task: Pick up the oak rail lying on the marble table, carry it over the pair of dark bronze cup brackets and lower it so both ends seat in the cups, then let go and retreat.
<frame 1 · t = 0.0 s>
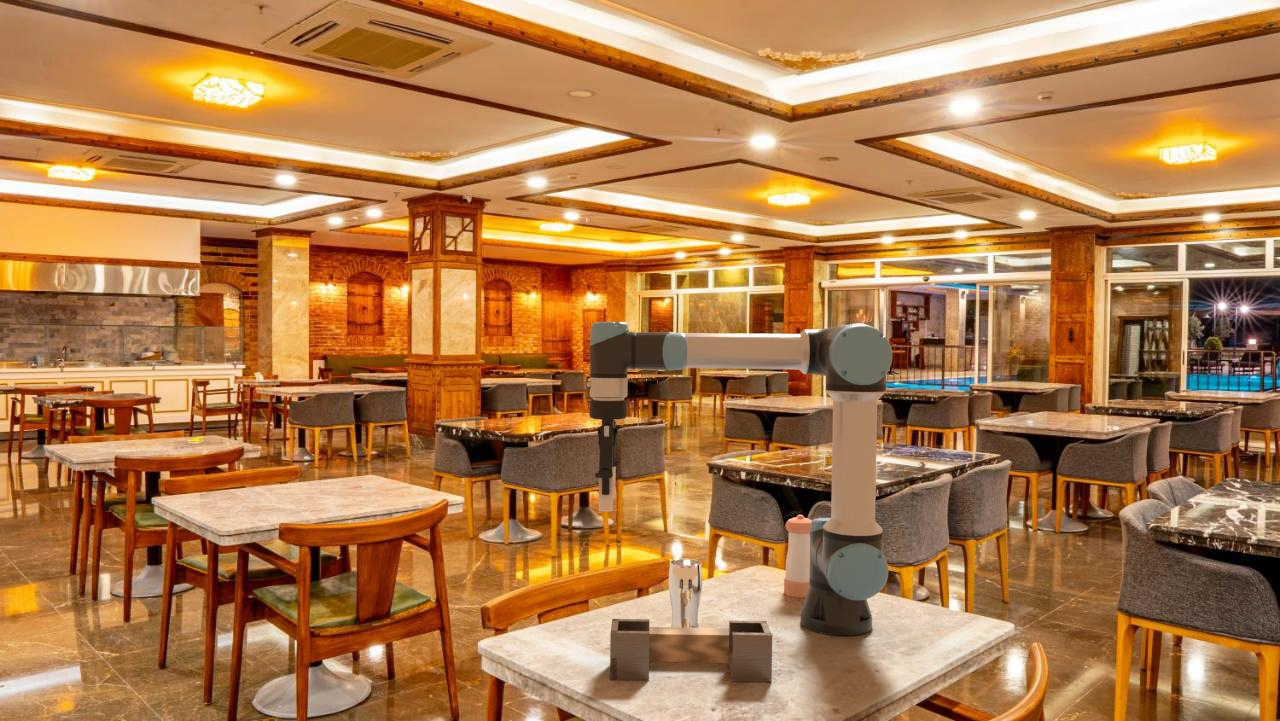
hand: (607, 504, 176), 28 cm above the table, fingers open, 13 cm apart
pepper shaker: (799, 594, 212), on the table
rail: (687, 659, 168), on the table
brackets: (689, 672, 161), on the table
shiny metal tumbler: (684, 634, 182), on the table
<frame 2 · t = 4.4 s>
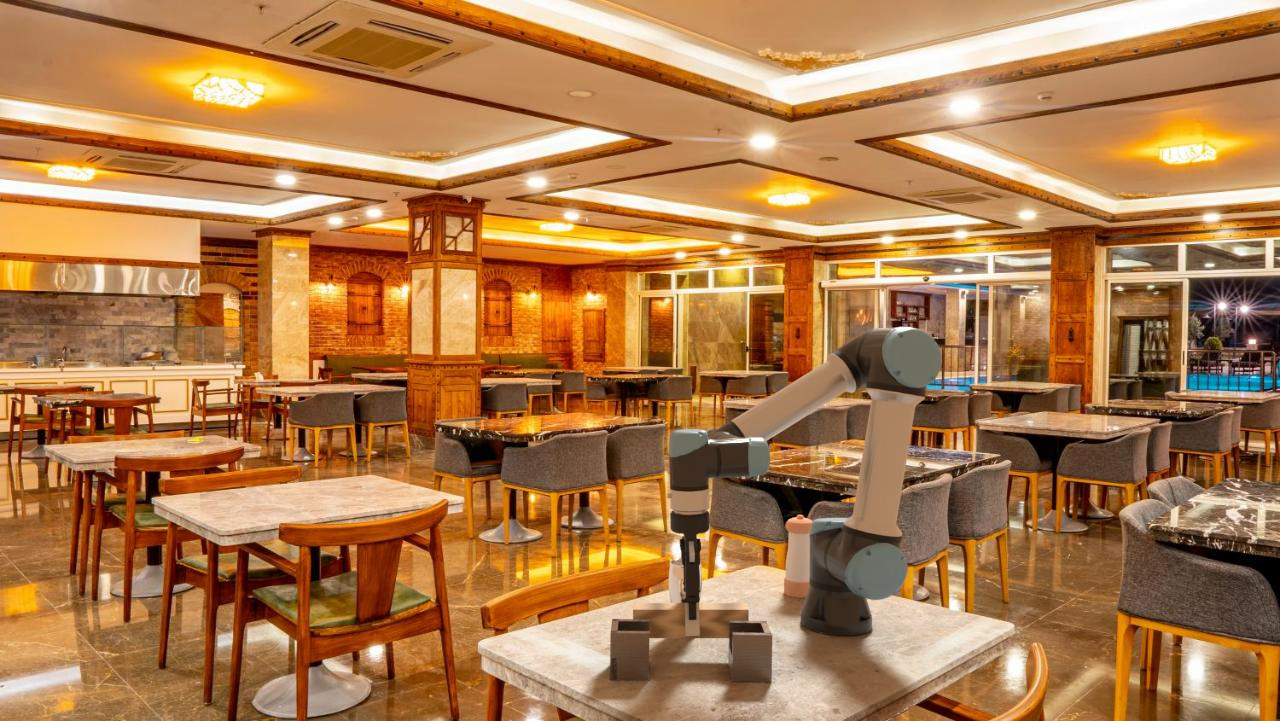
hand: (691, 630, 168), 5 cm above the table, fingers closed on rail, 4 cm apart
rail: (690, 634, 169), point 4 cm above the table, touching gripper
everything else where it was.
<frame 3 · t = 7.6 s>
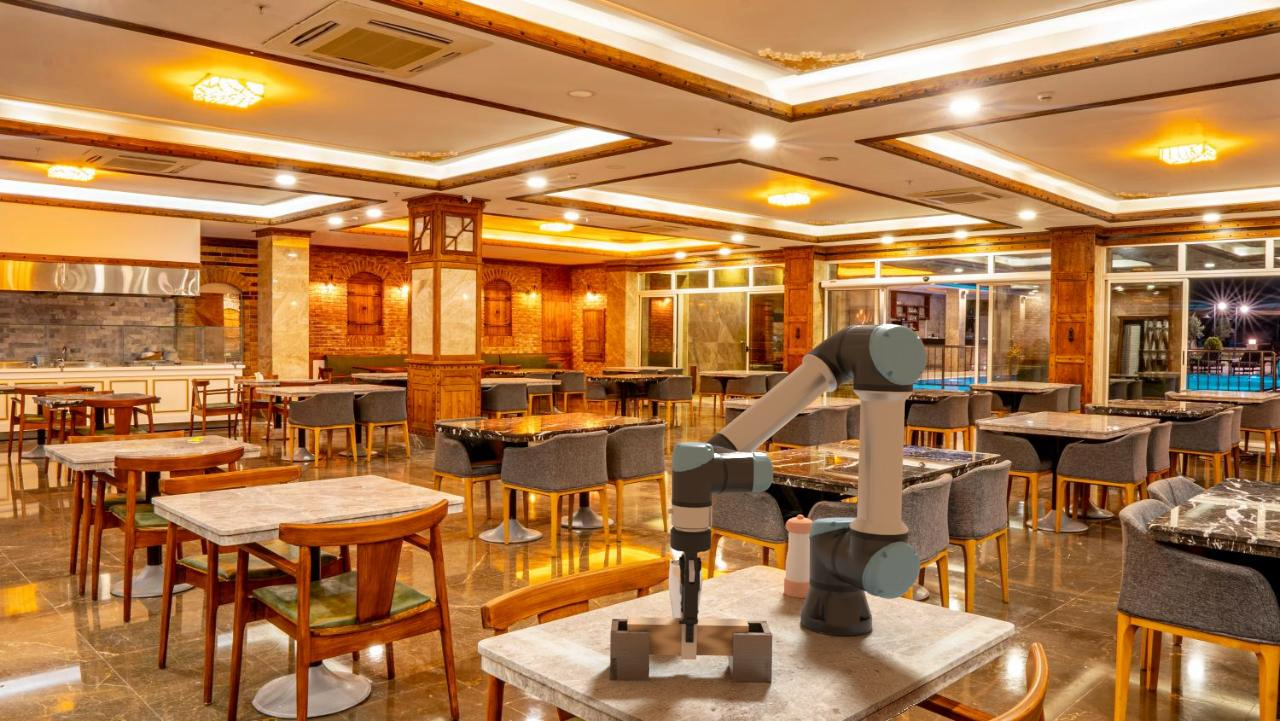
hand: (688, 653, 161), 4 cm above the table, fingers closed on rail, 4 cm apart
rail: (687, 651, 161), point 4 cm above the table, touching brackets, gripper
everything else where it was.
when the fingers open (4 cm above the table, at t = 7.7 s): rail stays where it is, resting on brackets.
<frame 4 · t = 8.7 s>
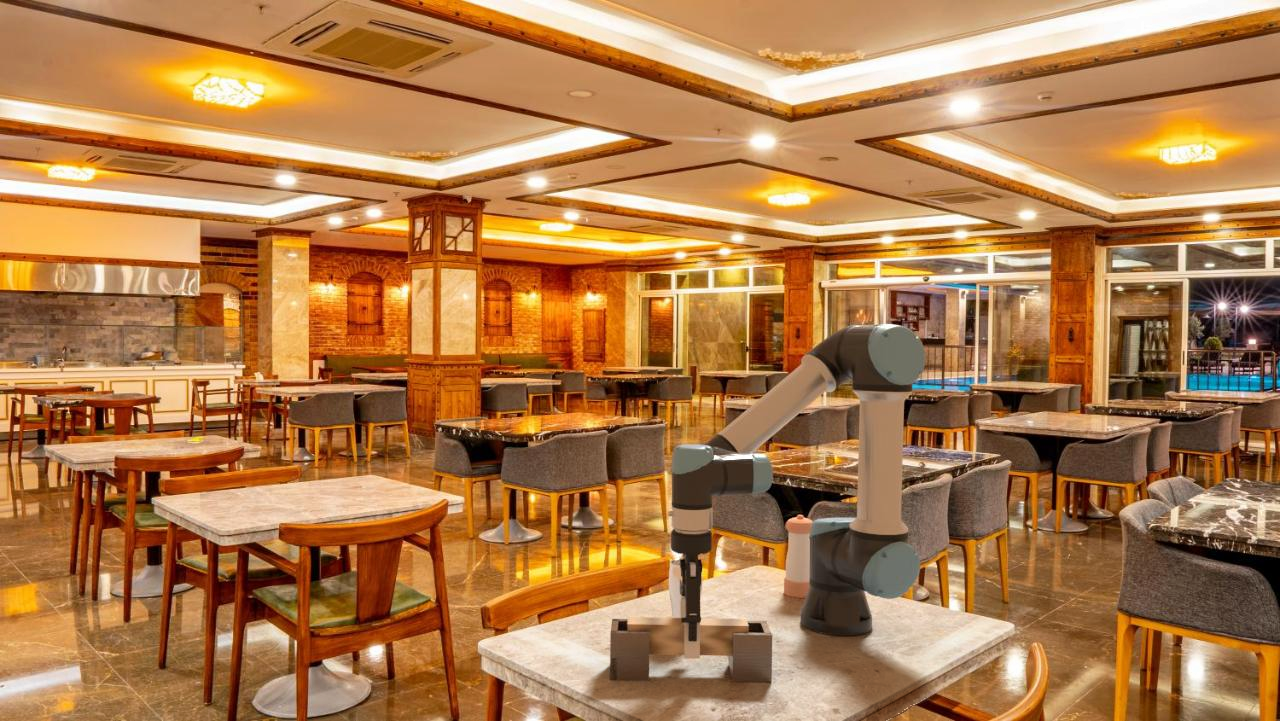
hand: (690, 644, 161), 5 cm above the table, fingers open, 13 cm apart
rail: (687, 651, 161), point 4 cm above the table, touching brackets
everything else where it was.
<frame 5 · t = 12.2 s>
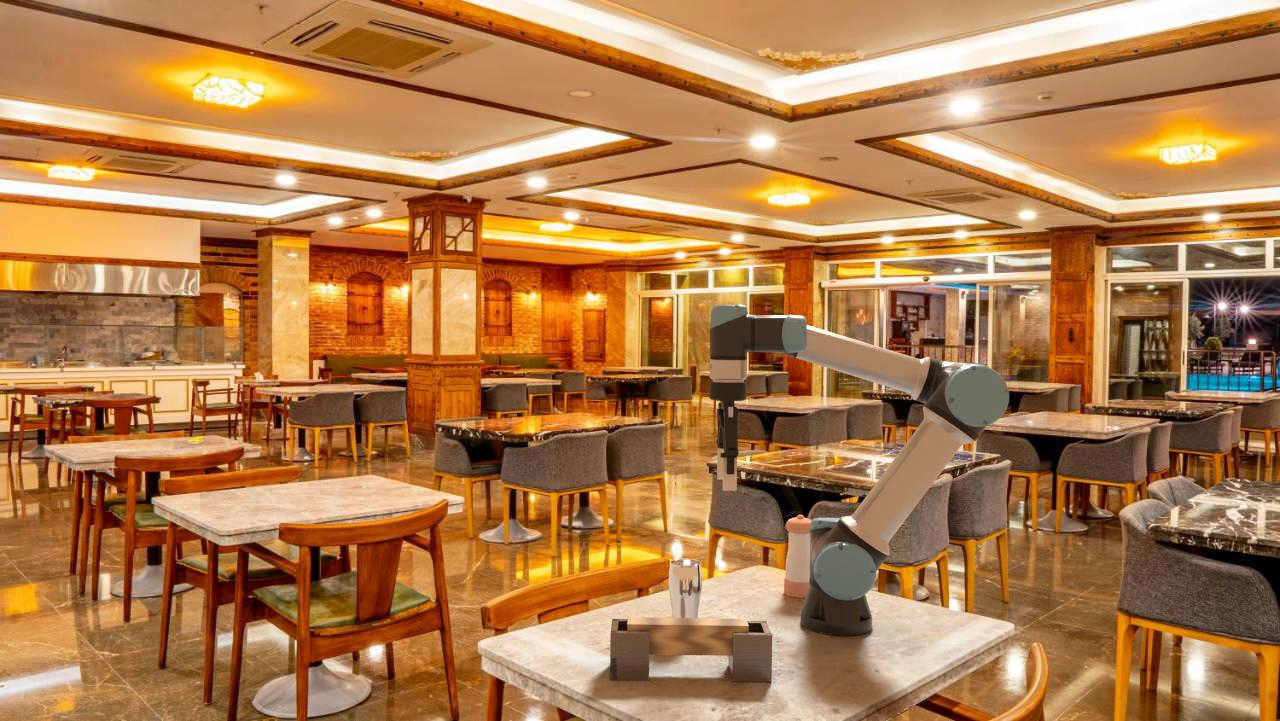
hand: (726, 484, 179), 32 cm above the table, fingers open, 13 cm apart
nothing on the table moved.
at the end: rail 0.5 cm off-centre on the brackets, point 4.0 cm above the brackets's base; rail tilted 0°; the gripper is holding nothing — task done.
